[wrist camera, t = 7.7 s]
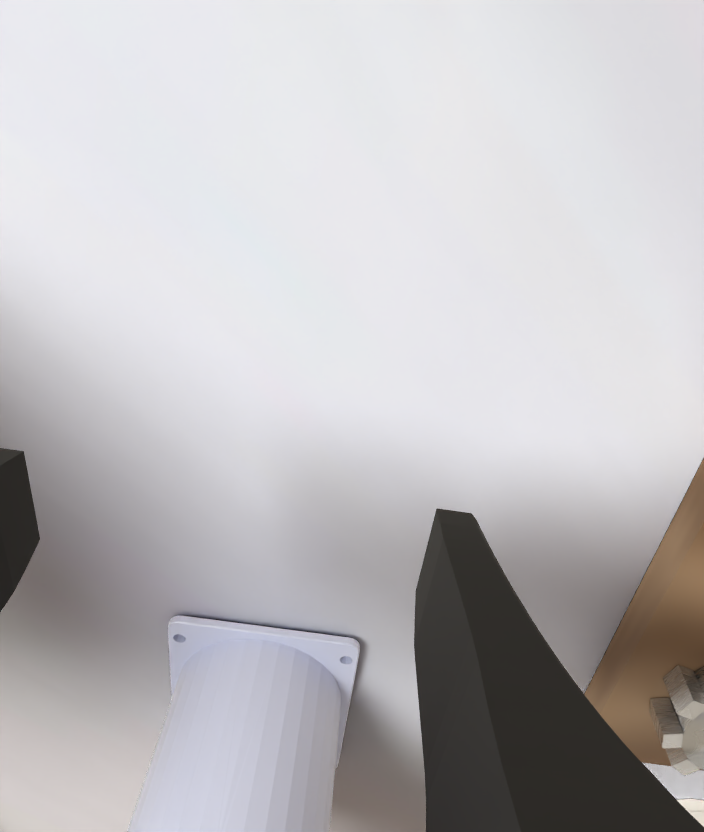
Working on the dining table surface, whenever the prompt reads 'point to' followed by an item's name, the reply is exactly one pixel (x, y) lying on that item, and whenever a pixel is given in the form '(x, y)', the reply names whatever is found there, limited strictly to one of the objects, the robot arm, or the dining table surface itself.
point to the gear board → (656, 632)
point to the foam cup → (694, 808)
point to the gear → (681, 719)
